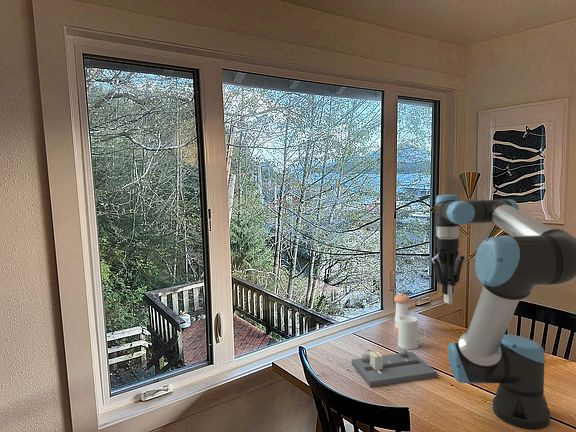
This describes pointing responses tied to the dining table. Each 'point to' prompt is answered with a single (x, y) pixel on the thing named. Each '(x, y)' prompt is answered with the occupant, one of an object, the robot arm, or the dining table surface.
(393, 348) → the dining table surface
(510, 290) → the robot arm
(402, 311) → the pepper shaker
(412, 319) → the mug
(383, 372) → the console board
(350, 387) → the dining table surface
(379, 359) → the fader tab
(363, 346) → the dining table surface
